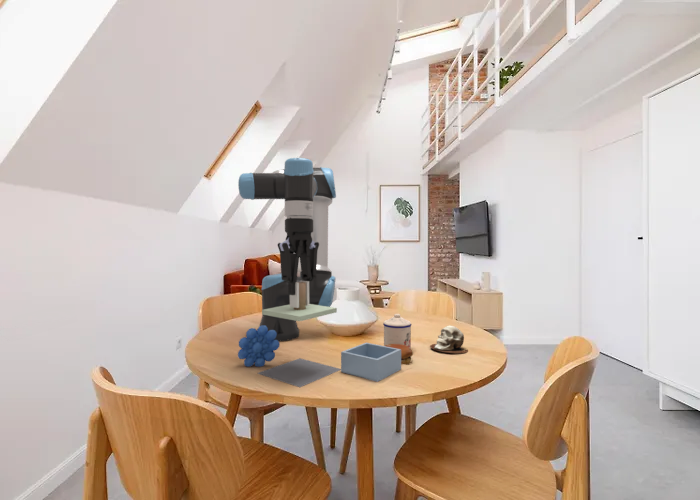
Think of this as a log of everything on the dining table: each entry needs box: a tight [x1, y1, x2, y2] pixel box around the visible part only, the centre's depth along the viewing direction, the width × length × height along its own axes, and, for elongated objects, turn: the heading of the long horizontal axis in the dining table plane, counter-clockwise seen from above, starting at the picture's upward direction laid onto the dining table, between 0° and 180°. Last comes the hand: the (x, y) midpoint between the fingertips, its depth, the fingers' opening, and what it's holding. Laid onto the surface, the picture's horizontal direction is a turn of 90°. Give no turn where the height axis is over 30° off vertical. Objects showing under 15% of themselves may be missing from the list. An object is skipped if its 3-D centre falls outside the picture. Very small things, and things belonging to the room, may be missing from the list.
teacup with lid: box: [382, 313, 412, 350], centre depth 127 cm, size 12×9×12 cm
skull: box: [429, 325, 469, 355], centre depth 126 cm, size 12×10×10 cm
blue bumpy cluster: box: [237, 325, 280, 368], centre depth 109 cm, size 12×7×12 cm, turn 92°
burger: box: [383, 344, 414, 366], centre depth 114 cm, size 10×9×5 cm
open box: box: [340, 342, 402, 383], centre depth 104 cm, size 12×12×6 cm
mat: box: [256, 358, 341, 388], centre depth 104 cm, size 16×16×1 cm
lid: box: [261, 282, 338, 322], centre depth 103 cm, size 14×14×8 cm
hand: (299, 305), depth 103 cm, fingers closed on lid, 3 cm apart
